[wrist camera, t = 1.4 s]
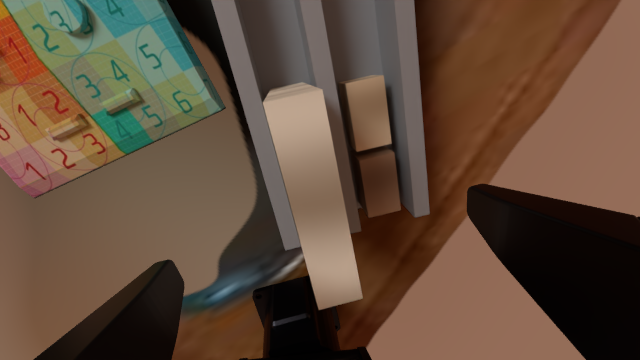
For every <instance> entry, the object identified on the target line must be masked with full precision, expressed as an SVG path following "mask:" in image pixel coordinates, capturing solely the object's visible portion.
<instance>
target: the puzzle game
mask: <svg viewBox="0 0 640 360" xmlns="http://www.w3.org/2000/svg"><path fill="white" fill-rule="evenodd" d="M225 108H226V107H225V106H224V104H223V102H222V100H221V98H220V96H219V95H218V93H217V91H216V89H215V87H214V86H213V84H212V82H211V80H210V78H209V76H208V75H207V73H206V71H205V69H204V67H203V66H202V64H201V62H200V60H199V58H198V57H197V55H196V53H195V51H194V49H193V47H192V46H191V44H190V42H189V40H188V38H187V37H186V35H185V33H184V31H183V29H182V28H181V26H180V24H179V22H178V20H177V18H176V17H175V15H174V13H173V11H172V9H171V8H170V6H169V4H168V2H167V0H0V166H1V168H2V169H3V170H4V171H5V172H6V173H7V174H8V175H9V176H10V177H11V179H12V180H13V181H14V182H15V183H16V184H17V185H18V186H19V187H20V188H21V189H22V190H24V191H25V192H26V193H28V194H29V195H31V196H32V197H34V198H37V197H39V196H41V195H43V194H45V193H48V192H50V191H52V190H54V189H56V188H58V187H60V186H63V185H65V184H67V183H69V182H71V181H73V180H75V179H78V178H80V177H82V176H84V175H86V174H88V173H90V172H92V171H94V170H97V169H99V168H101V167H103V166H105V165H107V164H109V163H111V162H114V161H116V160H118V159H120V158H122V157H124V156H126V155H129V154H131V153H133V152H135V151H137V150H139V149H141V148H143V147H146V146H148V145H150V144H152V143H154V142H156V141H158V140H161V139H163V138H165V137H167V136H169V135H171V134H173V133H175V132H178V131H179V130H182V129H184V128H186V127H188V126H190V125H192V124H195V123H197V122H199V121H201V120H203V119H205V118H207V117H209V116H211V115H213V114H216V113H218V112H220V111H222V110H223V109H225Z"/></svg>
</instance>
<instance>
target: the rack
mask: <svg viewBox="0 0 640 360" xmlns="http://www.w3.org/2000/svg"><path fill="white" fill-rule="evenodd" d="M211 1H212V4H213V8H214V11H215V14H216V18H217V21H218V24H219V28H220V31H221V35H222V38H223V41H224V45H225V48H226V51H227V55H228V58H229V62H230V65H231V68H232V72H233V75H234V78H235V82H236V85H237V89H238V92H239V95H240V99H241V102H242V105H243V109H244V112H245V116H246V119H247V122H248V126H249V129H250V132H251V136H252V139H253V143H254V146H255V149H256V153H257V156H258V160H259V163H260V166H261V170H262V173H263V176H264V180H265V183H266V187H267V190H268V193H269V197H270V200H271V203H272V207H273V210H274V214H275V217H276V220H277V224H278V227H279V230H280V234H281V237H282V241H283V244H284V247H285V250H288V249H292V248H296V247H300V246H301V244H300V239H299V235H298V232H297V228H296V224H295V220H294V217H293V213H292V209H291V206H290V202H289V198H288V195H287V191H286V187H285V183H284V180H283V176H282V172H281V169H280V165H279V161H278V158H277V154H276V150H275V146H274V143H273V139H272V135H271V132H270V128H269V124H268V121H267V117H266V113H265V109H264V106H263V102H264V100H265V98H266V96H267V95H268V93H269V91H270V89H274V88H278V87H283V86H287V85H292V84H296V83H301V82H303V83H306V84H309V85H312V86H314V87H317V88H320V89H322V90H323V95H324V100H325V105H326V110H327V116H328V121H329V126H330V131H331V136H332V141H333V147H334V152H335V157H336V162H337V167H338V173H339V178H340V183H341V188H342V193H343V198H344V204H345V209H346V214H347V219H348V224H349V230H350V234H352V233H356V232H360V231H361V225H360V220H359V214H358V209H359V208H362V207H361V205H360V203H359V200H358V194H357V188H356V183H355V177H354V171H353V165H352V159H351V154H350V151H351V150H355V149H354V148H353V147H352V146H351V145H350V144H349V142H348V136H347V130H346V125H345V119H344V113H343V107H342V101H341V96H340V90H339V84H338V83H339V82H344V81H348V80H353V79H357V78H362V77H366V76H370V75H384V82H385V91H386V99H387V108H388V117H389V125H390V134H391V142H392V144H388V145H384V146H386V147H387V148H388V149H390V150H391V151H393V152H394V154H395V163H396V171H397V180H398V189H399V198H400V202H401V203H402V204H403V205H404V206H405V207H406V209H407V210H408V211H409V212H410V213H411V214H412V215H413V216H414V217H415V218H416V217H420V216H424V215H428V214H430V211H429V197H428V183H427V170H426V156H425V143H424V129H423V116H422V102H421V89H420V75H419V61H418V48H417V34H416V21H415V7H414V0H211Z"/></svg>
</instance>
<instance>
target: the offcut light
mask: <svg viewBox="0 0 640 360" xmlns="http://www.w3.org/2000/svg"><path fill="white" fill-rule="evenodd" d="M338 84H339V90H340V96H341V101H342V107H343V113H344V119H345V125H346V130H347V136H348V142H349V144H350V145H351V146H352V147H353V148H354V149H355V150H356V151H357V152H358V151H362V150H367V149H371V148H375V147H379V146H383V145H388V144H392V142H391V134H390V125H389V117H388V108H387V99H386V91H385V82H384V75H370V76H366V77H362V78H357V79H353V80H348V81H344V82H339V83H338Z"/></svg>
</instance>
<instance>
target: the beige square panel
mask: <svg viewBox="0 0 640 360" xmlns="http://www.w3.org/2000/svg"><path fill="white" fill-rule="evenodd" d="M263 106H264V109H265V113H266V117H267V121H268V124H269V128H270V132H271V135H272V139H273V143H274V146H275V150H276V154H277V158H278V161H279V165H280V169H281V172H282V176H283V180H284V183H285V187H286V191H287V195H288V198H289V202H290V206H291V209H292V213H293V217H294V220H295V224H296V228H297V232H298V235H299V239H300V243H301V246H302V250H303V254H304V257H305V261H306V265H307V269H308V272H309V276H310V280H311V283H312V287H313V291H314V294H315V298H316V302H317V306H318V309H319V310H321V309H325V308H329V307H333V306H336V305H340V304H344V303H348V302H352V301H355V300H359V299H363V297H362V292H361V286H360V281H359V276H358V271H357V266H356V261H355V255H354V250H353V245H352V240H351V235H350V230H349V224H348V219H347V214H346V209H345V204H344V198H343V193H342V188H341V183H340V178H339V173H338V167H337V162H336V157H335V152H334V147H333V141H332V136H331V131H330V126H329V121H328V116H327V110H326V105H325V100H324V95H323V90H322V89H320V88H317V87H314V86H312V85H309V84H306V83H303V82H301V83H296V84H292V85H287V86H283V87H278V88H274V89H270V91H269V93H268V95H267V96H266V98H265V100H264V102H263Z"/></svg>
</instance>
